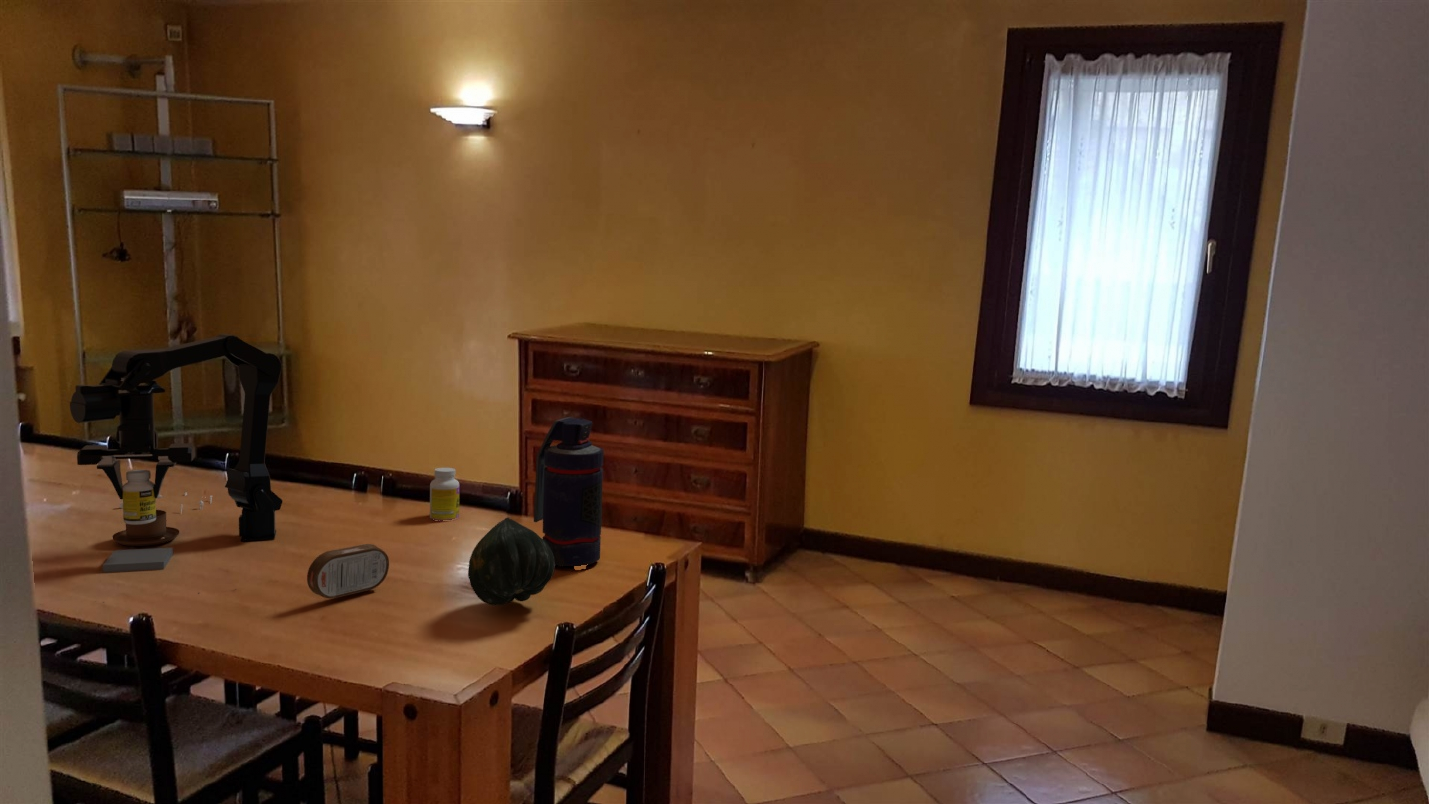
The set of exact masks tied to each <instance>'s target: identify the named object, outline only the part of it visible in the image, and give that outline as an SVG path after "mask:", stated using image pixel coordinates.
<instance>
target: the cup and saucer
mask: <svg viewBox="0 0 1429 804" xmlns="http://www.w3.org/2000/svg"><path fill="white" fill-rule="evenodd" d="M179 535H180V530H179V529H178V528H175V527H171V526H167V511H166V510H161V509H156V520H155V521H153V522H151V523H147V524H138V525H133V524H126V523H125V529H124V530H120V531H118V532H116V533H114V534H113V535H112V541H114V542H115V543H117V544H119V545H123V546H128V547H149V546H156V545H162V544H165V543H168V542H171V541H172V540H175V539H176V538H177V537H178V536H179Z"/></svg>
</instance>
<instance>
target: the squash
mask: <svg viewBox="0 0 1429 804" xmlns="http://www.w3.org/2000/svg"><path fill="white" fill-rule="evenodd" d="M555 566H556V565H555V561H554V556H553V553H552V551H551V549H550V547H549V546H548V544H547V543H546V542H545V541H544V540H543V537H541V536H539V535H538V533H536V532H535V531H534V530H532V529H530V528H529V527H527V526H525V525H523V524H521V523H519V522H517V521H516V520H515V519H512V518H510V517H505V518H504V519H502V520H500V521H499V522H497V524H495V525H494V526H493V527H492V528H491V529H489V531H488V532H487V533H486V534H485V535H484V536H483V537H481V538H480V540H479V541H478V542H477V543H476V545H475V547H474V548H473V550H472V552H471V554H470V557H469V561H468V569H467V570H468V571H467V574H468V580H469V584H470V587H471V589H472V590H473V593H474V594H475V595H476V596H477V598H478V599H479V600H481V601H482V602H483V603H485V604H487V605H491V606H503V605H505V604H510V603H512V602H514V601H518V602H525V601H528V600H529V599H530V598H531V596H534V595H538V594H540V593H541V592H542V591H543V590H544V589H545V587H546V586H547V584H548V583H549V582H550V581H551V579H552V578H553V575H554V571H555V568H556V567H555ZM514 599H515V600H514Z"/></svg>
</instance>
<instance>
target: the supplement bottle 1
mask: <svg viewBox="0 0 1429 804" xmlns="http://www.w3.org/2000/svg"><path fill="white" fill-rule="evenodd" d="M125 476H126V477H125V478H126V481H127V482H125V483H124V484H123V488H122V493H123V499H122V501H123V509H122V515H123V522H124V524H125V525H126V524H133V525H138V524H147V523H151V522H153V521H155V520H156V510H157V504H156V502H157V501H156V499H157V498H155V495H154V486H155V482H153V481H151V480H150V479H151V477H152V475H151V470H149V469H134V470H128V471H127V472H126V474H125Z"/></svg>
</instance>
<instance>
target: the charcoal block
mask: <svg viewBox="0 0 1429 804" xmlns="http://www.w3.org/2000/svg"><path fill="white" fill-rule="evenodd" d="M173 555H174V547H161V548H160V547H158V548H139V549H138V548H137V549H117V550H114V551H113V552H112V553H111V554H110V556H109V557H108V558H107V559H106V561H104V563H103V564H102V573H104V574H107V573H121V572H123V573H125V572H139V571H140V572H141V571H143V572H144V571H158V570H159V571H163V570H165V568H166V566H167V565H168V564H169V562H170V560H171V559H172V557H173Z"/></svg>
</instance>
